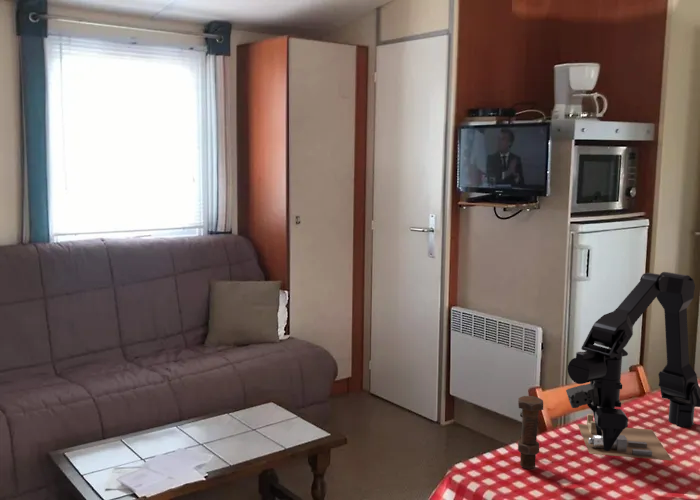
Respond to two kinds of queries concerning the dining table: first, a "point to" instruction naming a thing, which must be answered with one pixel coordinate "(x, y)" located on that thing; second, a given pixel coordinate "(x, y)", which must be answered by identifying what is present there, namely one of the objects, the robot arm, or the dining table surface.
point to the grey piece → (618, 444)
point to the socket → (638, 451)
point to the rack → (591, 424)
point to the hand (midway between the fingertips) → (602, 442)
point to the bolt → (529, 430)
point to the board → (630, 435)
